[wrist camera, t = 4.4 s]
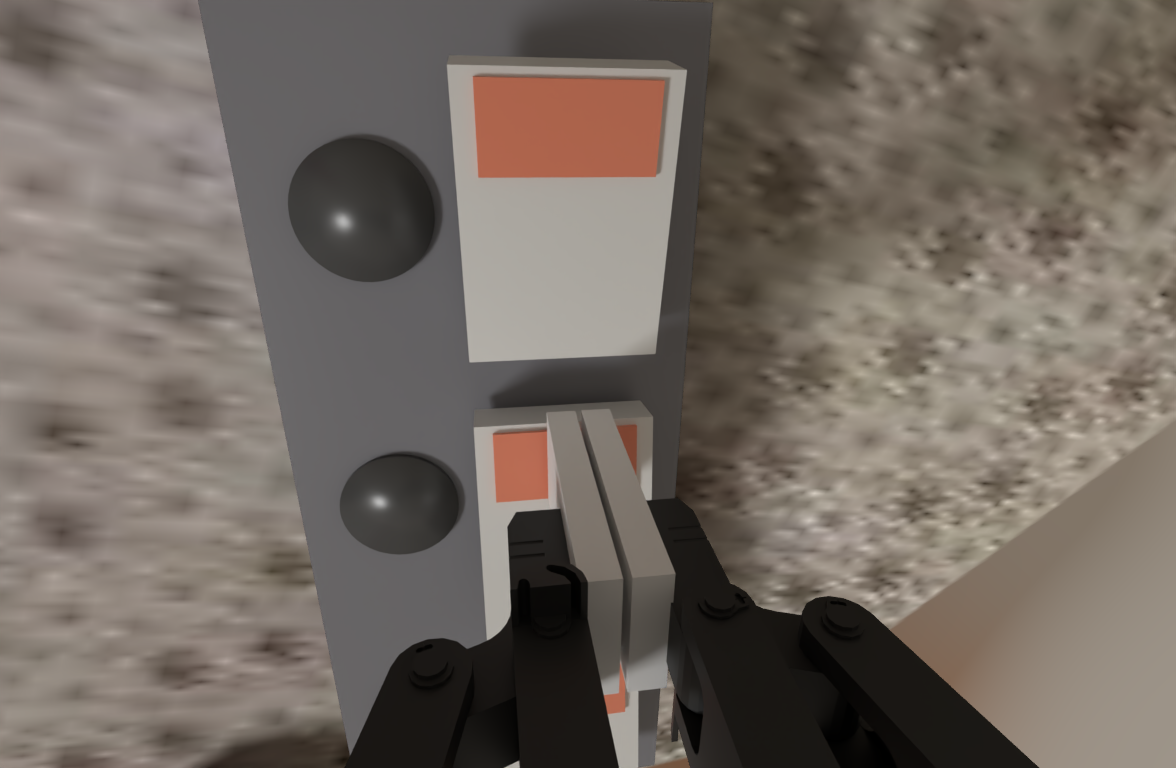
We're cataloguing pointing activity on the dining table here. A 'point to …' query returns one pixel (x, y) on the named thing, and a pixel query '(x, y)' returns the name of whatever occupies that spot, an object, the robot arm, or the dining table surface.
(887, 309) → the dining table surface
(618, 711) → the rocker
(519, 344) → the rocker
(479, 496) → the rocker
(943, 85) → the dining table surface
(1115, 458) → the dining table surface
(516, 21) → the switch panel
